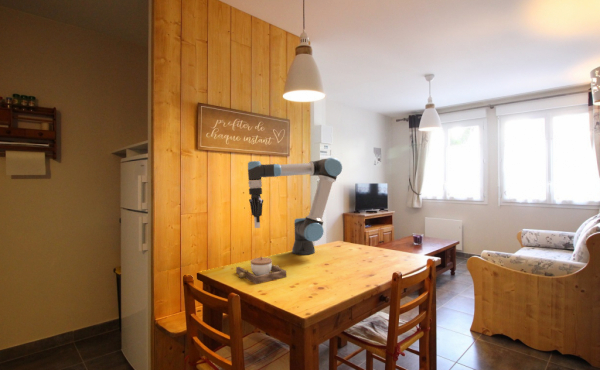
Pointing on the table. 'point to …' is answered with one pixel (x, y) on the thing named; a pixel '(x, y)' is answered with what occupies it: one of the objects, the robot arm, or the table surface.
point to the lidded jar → (261, 266)
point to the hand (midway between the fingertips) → (257, 227)
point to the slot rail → (262, 278)
